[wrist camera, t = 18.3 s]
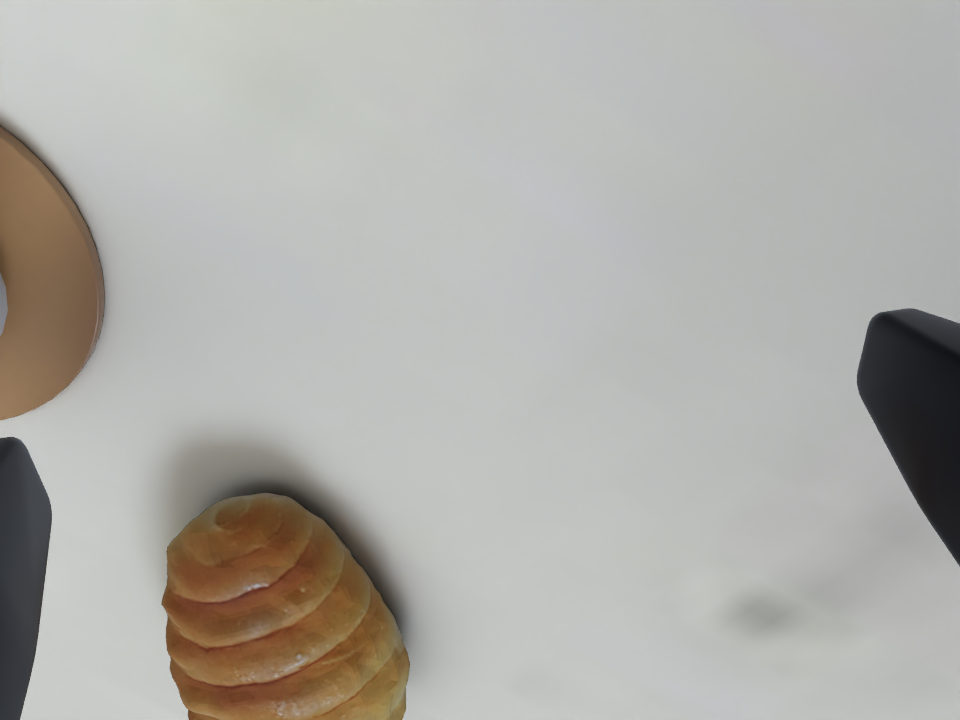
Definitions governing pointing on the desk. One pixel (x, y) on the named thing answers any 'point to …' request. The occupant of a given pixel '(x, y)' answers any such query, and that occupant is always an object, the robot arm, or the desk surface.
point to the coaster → (43, 283)
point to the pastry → (278, 619)
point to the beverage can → (3, 304)
